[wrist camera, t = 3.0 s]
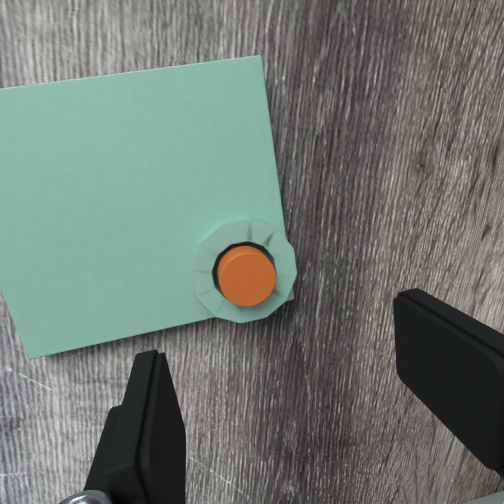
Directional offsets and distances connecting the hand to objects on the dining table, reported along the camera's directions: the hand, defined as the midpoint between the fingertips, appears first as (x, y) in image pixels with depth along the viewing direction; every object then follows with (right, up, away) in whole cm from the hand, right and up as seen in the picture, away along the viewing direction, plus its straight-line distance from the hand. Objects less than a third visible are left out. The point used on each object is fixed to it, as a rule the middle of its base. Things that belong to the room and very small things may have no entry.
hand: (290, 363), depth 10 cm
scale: (-8, +6, +9) cm, 13 cm away
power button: (-2, +2, +9) cm, 9 cm away
